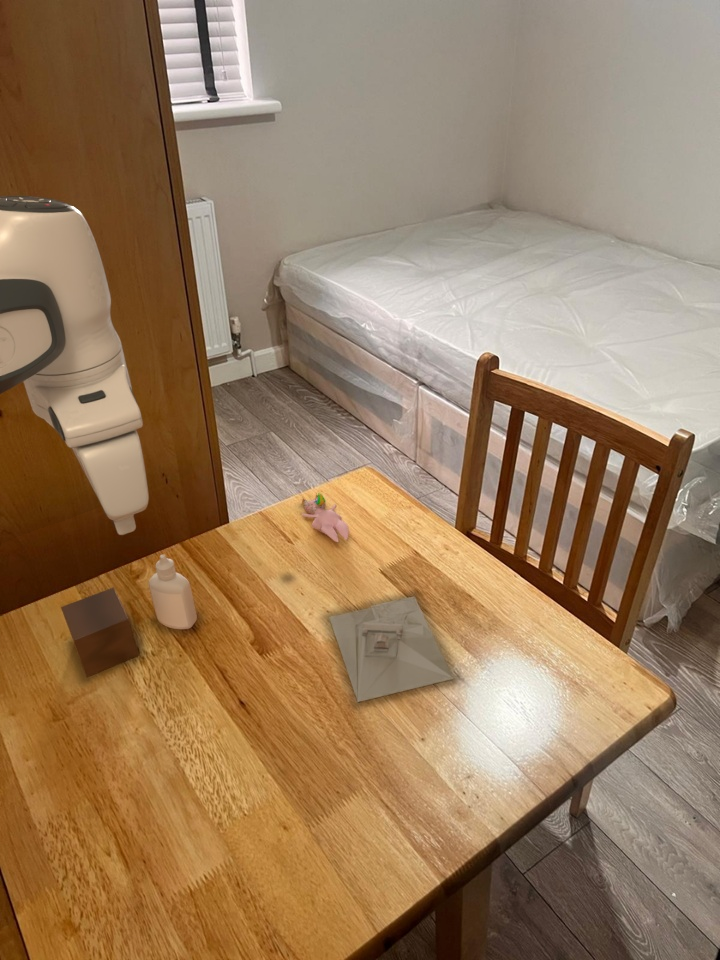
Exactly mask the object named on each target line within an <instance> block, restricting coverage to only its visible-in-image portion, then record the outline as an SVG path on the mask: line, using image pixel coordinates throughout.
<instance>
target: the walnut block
mask: <svg viewBox="0 0 720 960" xmlns="http://www.w3.org/2000/svg"><path fill="white" fill-rule="evenodd" d="M60 609H61V612H62V614H63V617H64V620H65V622H66V625H67V628H68V631H69V634H70V637H71V640H72V642H73V645H74V647H75V650H76V652H77V655H78V659H79V660H80V663H81V666H82V668H83V669H82V670H83V672H84V674H85V677H86V678H89V677H91V676H94V675H96V674H98V673H101V672H104V671H105V670H108V669H110V668H113V667H115V666H117V665H119V664H122V663H124V662H127V661H130V660H131V659H134V658H137V657H139V656H140V654H139V653H140V652H139V650H138V646H137V643H136V640H135V637H134V632H133V630H132V626H131V622H130V618H129V617H128V615H127V613H126V610H125V608H124V606H123V604H122V602H121V599H120V598H119V596H118V593H117V591H116V589H115V587H114V586H113V587H111V588H108V589H105V590H101V591H100V592H97V593H95V594H92V595H90V596H89V595H88V596H86V597H83V598H81V599H78V600H76V601H73V602H70V603H68V604H65V605H63V606H61V608H60Z"/></svg>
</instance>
